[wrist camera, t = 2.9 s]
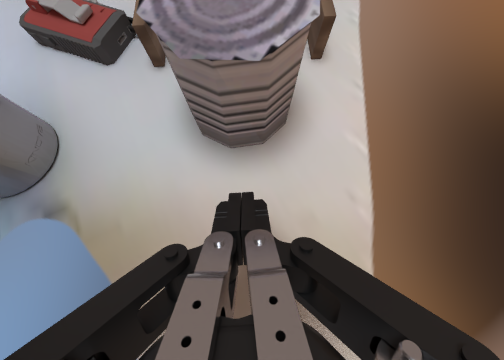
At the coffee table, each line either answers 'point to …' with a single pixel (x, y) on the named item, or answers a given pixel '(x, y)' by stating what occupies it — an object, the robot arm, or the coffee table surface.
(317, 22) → the walnut bay
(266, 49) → the can
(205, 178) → the coffee table surface
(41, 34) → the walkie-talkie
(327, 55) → the coffee table surface
